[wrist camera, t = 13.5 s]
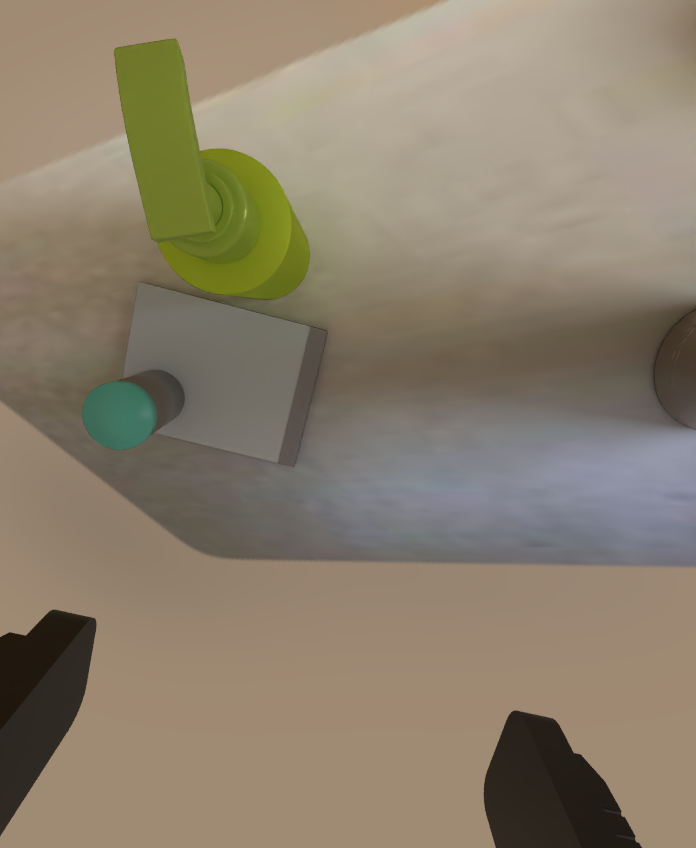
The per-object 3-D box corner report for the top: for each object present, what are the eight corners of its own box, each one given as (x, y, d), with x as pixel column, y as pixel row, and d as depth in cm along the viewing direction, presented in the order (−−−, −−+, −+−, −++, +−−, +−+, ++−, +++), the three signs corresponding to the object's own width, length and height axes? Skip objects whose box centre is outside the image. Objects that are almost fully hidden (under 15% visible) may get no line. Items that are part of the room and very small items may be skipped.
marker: (191, 379, 36) (160, 395, 29) (177, 431, 37) (143, 458, 30) (136, 361, 36) (90, 373, 29) (122, 414, 36) (75, 437, 29)
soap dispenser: (299, 184, 34) (242, 16, 14) (315, 292, 35) (285, 273, 16) (210, 198, 34) (35, 50, 14) (231, 305, 35) (97, 301, 16)
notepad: (327, 330, 36) (327, 331, 35) (294, 464, 38) (293, 467, 37) (141, 282, 35) (138, 281, 34) (118, 421, 37) (114, 423, 36)
